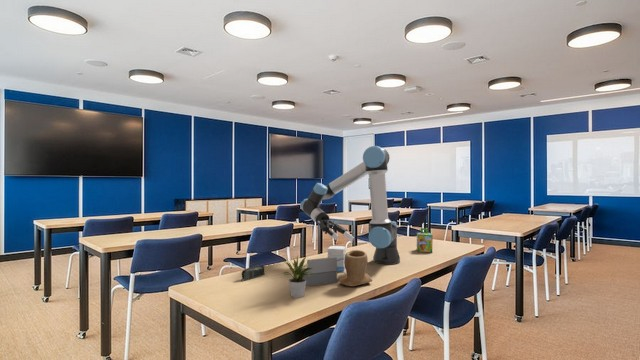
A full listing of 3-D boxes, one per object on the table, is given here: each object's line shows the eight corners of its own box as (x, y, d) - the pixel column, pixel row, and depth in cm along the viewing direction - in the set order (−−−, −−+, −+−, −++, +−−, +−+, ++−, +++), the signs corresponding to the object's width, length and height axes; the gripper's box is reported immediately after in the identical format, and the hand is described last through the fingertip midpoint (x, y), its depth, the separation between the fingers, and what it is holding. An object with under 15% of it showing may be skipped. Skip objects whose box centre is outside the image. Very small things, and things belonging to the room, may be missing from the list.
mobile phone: (261, 264, 173) (238, 270, 160) (265, 265, 171) (243, 271, 159) (261, 274, 172) (238, 280, 160) (265, 275, 171) (243, 281, 158)
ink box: (343, 272, 175) (343, 249, 175) (327, 271, 176) (327, 248, 176) (345, 267, 183) (345, 246, 183) (330, 267, 185) (329, 245, 185)
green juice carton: (417, 252, 221) (417, 229, 221) (416, 249, 231) (416, 227, 231) (432, 252, 220) (432, 229, 220) (430, 249, 229) (430, 227, 229)
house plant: (283, 304, 129) (283, 261, 129) (273, 293, 142) (273, 253, 142) (318, 299, 135) (318, 257, 135) (305, 289, 148) (305, 250, 148)
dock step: (322, 273, 172) (322, 251, 172) (337, 282, 157) (337, 257, 157) (296, 276, 166) (295, 253, 166) (308, 286, 152) (308, 260, 152)
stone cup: (351, 290, 145) (351, 255, 145) (335, 283, 155) (335, 250, 155) (379, 285, 153) (379, 251, 153) (362, 278, 163) (362, 246, 163)
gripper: (330, 224, 204) (355, 246, 191) (302, 220, 185) (326, 243, 172) (336, 214, 203) (361, 234, 189) (308, 209, 184) (334, 231, 171)
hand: (345, 239), depth 180 cm, fingers open, 13 cm apart
